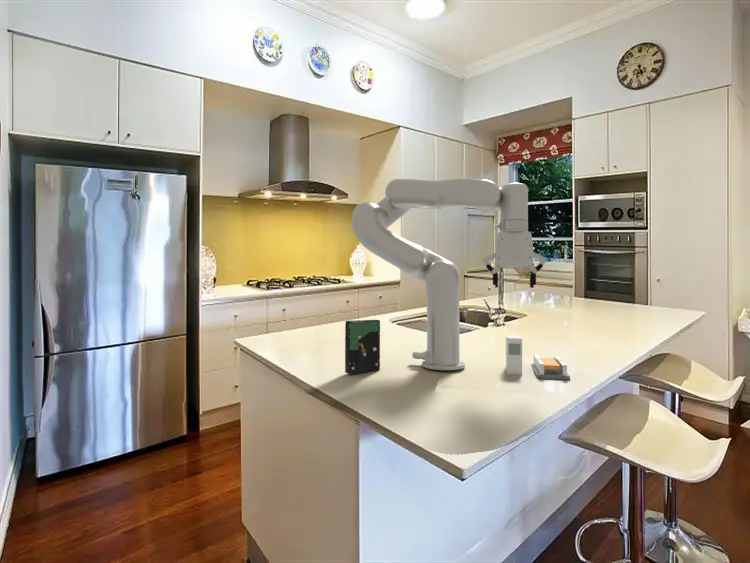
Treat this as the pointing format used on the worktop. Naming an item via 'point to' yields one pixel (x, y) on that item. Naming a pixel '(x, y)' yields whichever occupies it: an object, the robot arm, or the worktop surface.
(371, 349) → the disk drive
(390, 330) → the worktop surface
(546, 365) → the orange rectangular panel
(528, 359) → the worktop surface
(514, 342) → the block
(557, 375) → the rail
